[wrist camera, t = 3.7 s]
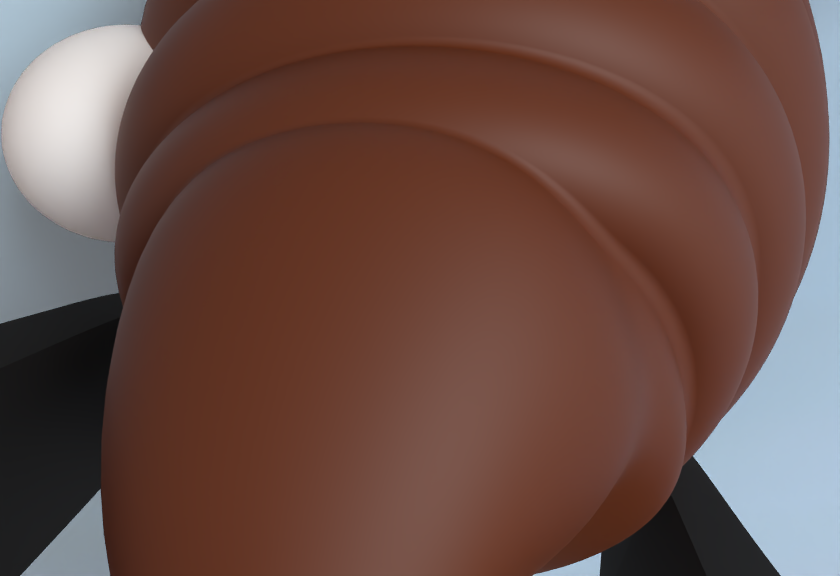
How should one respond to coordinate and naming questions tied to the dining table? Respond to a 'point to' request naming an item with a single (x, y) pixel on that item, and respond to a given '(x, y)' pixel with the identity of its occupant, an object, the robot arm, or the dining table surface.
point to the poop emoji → (424, 266)
